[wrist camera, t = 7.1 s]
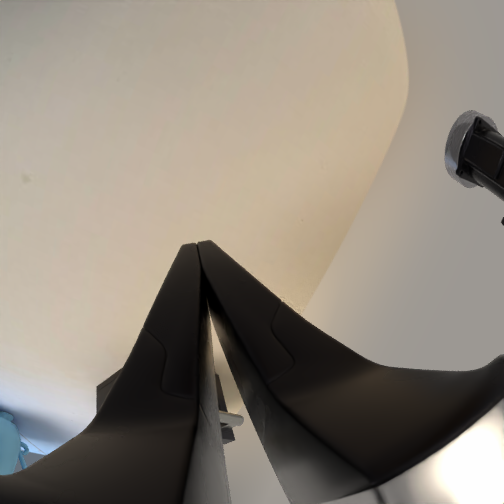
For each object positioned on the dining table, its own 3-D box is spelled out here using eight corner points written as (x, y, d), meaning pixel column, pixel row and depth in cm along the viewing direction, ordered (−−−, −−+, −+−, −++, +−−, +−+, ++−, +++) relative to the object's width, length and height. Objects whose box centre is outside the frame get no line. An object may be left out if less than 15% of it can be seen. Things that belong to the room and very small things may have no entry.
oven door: (168, 334, 27) (180, 418, 20) (235, 364, 33) (254, 432, 26) (142, 353, 28) (149, 432, 21) (209, 380, 34) (224, 444, 27)
